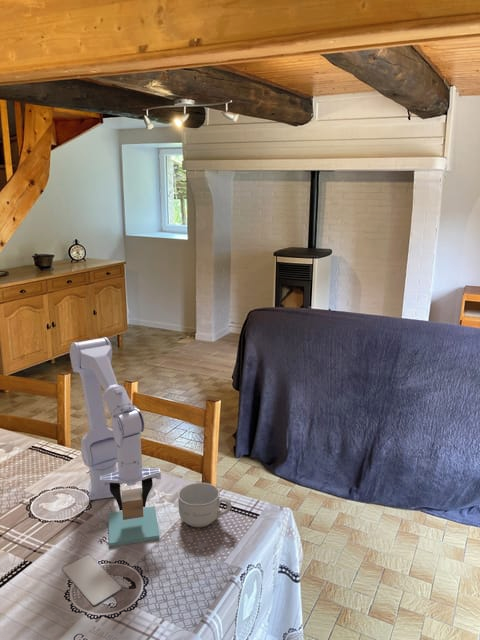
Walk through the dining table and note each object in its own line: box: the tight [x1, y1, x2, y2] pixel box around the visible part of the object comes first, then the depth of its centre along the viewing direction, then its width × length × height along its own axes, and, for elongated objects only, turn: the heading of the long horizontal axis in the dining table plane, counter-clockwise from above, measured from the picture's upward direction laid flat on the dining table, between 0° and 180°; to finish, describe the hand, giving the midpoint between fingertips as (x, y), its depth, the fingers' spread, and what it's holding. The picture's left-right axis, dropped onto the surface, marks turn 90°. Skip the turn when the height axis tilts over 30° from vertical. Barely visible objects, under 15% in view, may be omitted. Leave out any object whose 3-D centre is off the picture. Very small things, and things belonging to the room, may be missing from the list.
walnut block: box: [120, 487, 144, 520], centre depth 128 cm, size 5×5×5 cm
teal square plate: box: [108, 505, 161, 548], centre depth 130 cm, size 12×12×1 cm
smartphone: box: [61, 553, 123, 607], centre depth 113 cm, size 7×1×15 cm
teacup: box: [177, 482, 232, 528], centre depth 131 cm, size 14×11×8 cm
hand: (132, 506), depth 128 cm, fingers closed on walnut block, 5 cm apart
